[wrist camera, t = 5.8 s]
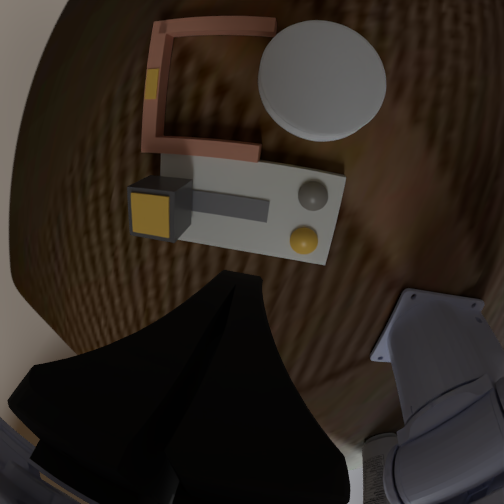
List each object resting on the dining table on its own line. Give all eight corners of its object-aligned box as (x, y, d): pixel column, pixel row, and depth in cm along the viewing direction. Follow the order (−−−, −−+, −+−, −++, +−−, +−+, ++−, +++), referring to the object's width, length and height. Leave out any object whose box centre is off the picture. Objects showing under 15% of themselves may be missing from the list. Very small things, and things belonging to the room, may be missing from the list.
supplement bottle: (270, 57, 13) (245, 7, 6) (350, 62, 13) (395, 19, 5) (271, 132, 16) (247, 145, 8) (349, 136, 15) (396, 156, 8)
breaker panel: (344, 174, 16) (346, 178, 15) (324, 259, 19) (325, 266, 18) (166, 150, 17) (159, 152, 16) (165, 231, 20) (159, 237, 19)
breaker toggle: (193, 179, 16) (173, 192, 14) (191, 224, 18) (173, 243, 15) (150, 175, 17) (126, 187, 14) (150, 218, 18) (129, 235, 16)
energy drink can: (381, 448, 32) (384, 526, 19) (353, 445, 32) (352, 530, 19) (407, 432, 30) (416, 517, 16) (380, 429, 29) (385, 524, 16)
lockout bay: (277, 24, 12) (275, 17, 11) (259, 159, 16) (256, 163, 15) (162, 26, 13) (153, 21, 12) (150, 149, 17) (140, 152, 16)
